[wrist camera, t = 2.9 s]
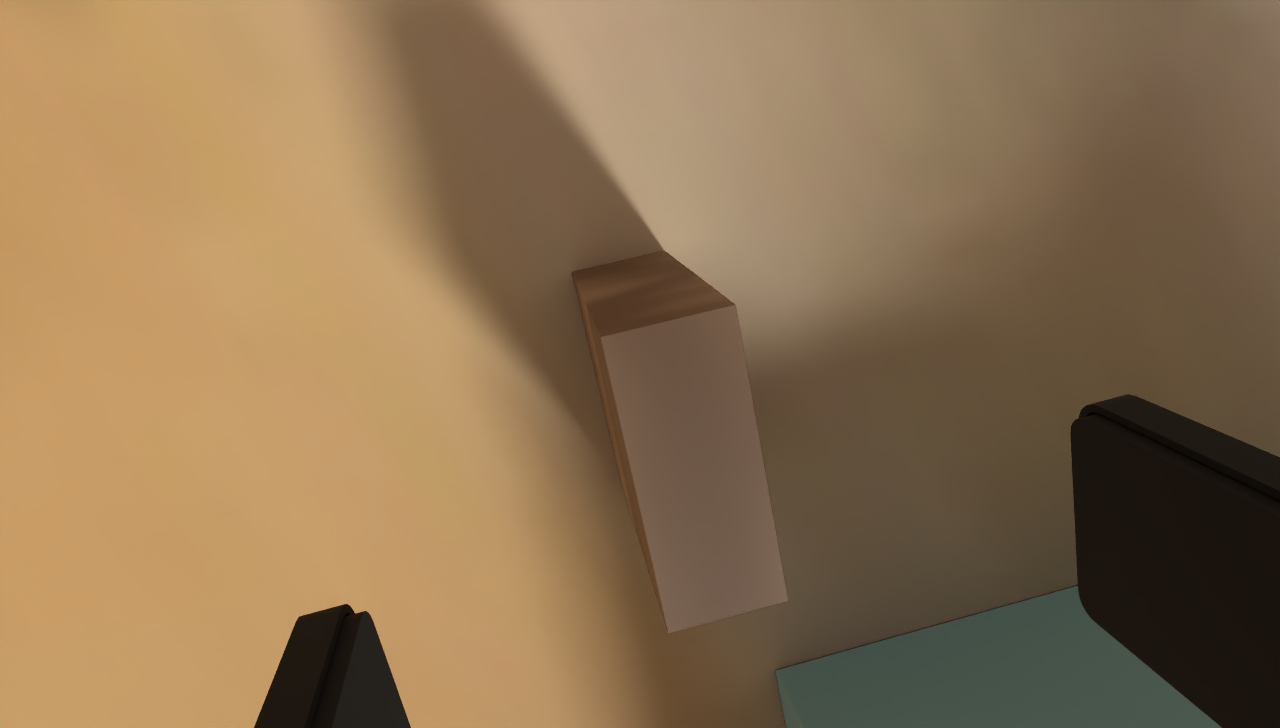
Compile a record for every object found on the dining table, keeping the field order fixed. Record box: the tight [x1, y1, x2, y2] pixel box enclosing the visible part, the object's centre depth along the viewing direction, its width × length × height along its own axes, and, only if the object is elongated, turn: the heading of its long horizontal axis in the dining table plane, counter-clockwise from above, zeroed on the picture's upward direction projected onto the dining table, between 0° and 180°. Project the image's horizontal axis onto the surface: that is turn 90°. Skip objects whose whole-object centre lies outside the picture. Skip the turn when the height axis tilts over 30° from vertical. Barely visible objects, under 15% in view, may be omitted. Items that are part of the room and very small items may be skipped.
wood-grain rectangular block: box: [572, 251, 788, 634], centre depth 19 cm, size 2×6×7 cm, turn 12°
